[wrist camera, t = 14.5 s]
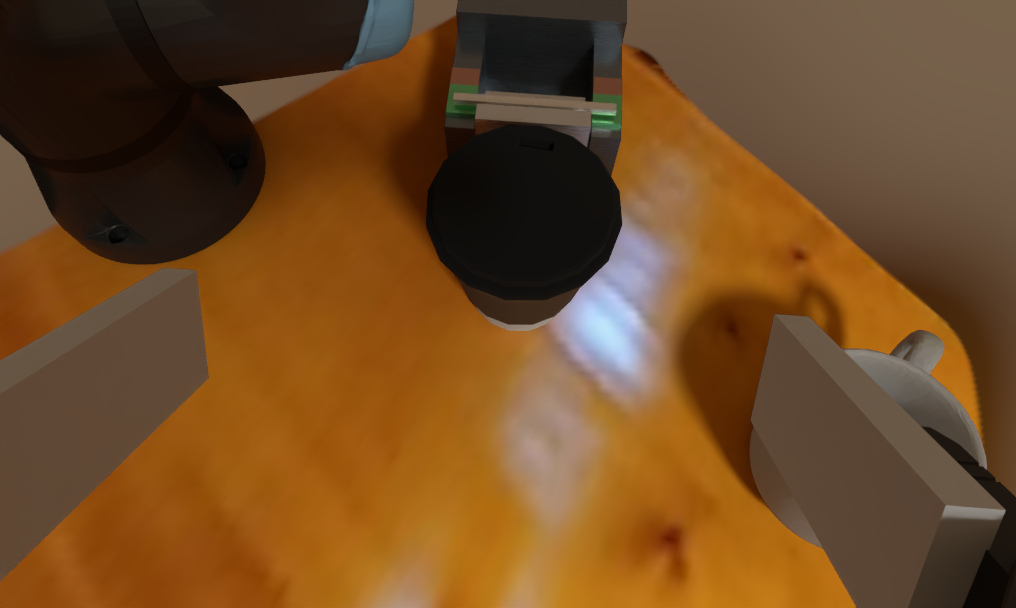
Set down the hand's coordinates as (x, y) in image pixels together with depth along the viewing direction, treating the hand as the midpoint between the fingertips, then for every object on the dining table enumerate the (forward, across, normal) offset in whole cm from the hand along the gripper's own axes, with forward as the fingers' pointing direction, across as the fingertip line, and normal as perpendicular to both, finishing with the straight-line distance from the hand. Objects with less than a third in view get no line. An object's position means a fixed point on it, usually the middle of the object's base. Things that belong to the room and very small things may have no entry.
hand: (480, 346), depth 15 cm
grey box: (+40, +1, +1) cm, 40 cm away
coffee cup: (+30, +1, -10) cm, 31 cm away
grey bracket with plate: (+36, +1, -1) cm, 36 cm away
